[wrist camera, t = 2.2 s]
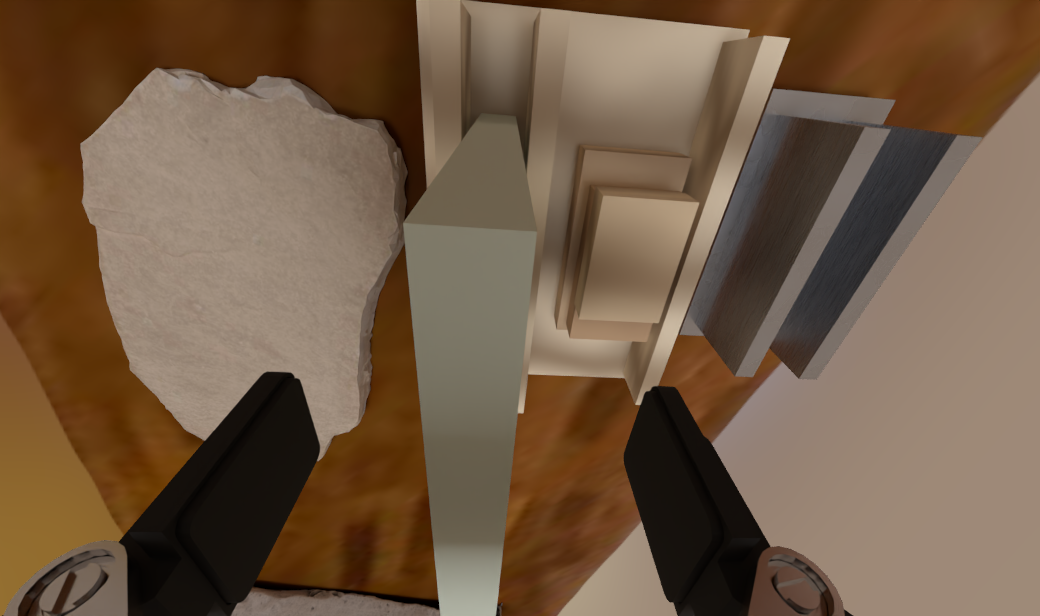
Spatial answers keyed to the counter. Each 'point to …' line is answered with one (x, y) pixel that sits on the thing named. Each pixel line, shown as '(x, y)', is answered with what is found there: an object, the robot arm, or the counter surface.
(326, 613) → the concrete block
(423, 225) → the grey-green panel
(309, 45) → the counter surface
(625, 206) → the offcut stack
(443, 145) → the rack
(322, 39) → the counter surface
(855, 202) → the stand
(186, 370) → the stone tablet
